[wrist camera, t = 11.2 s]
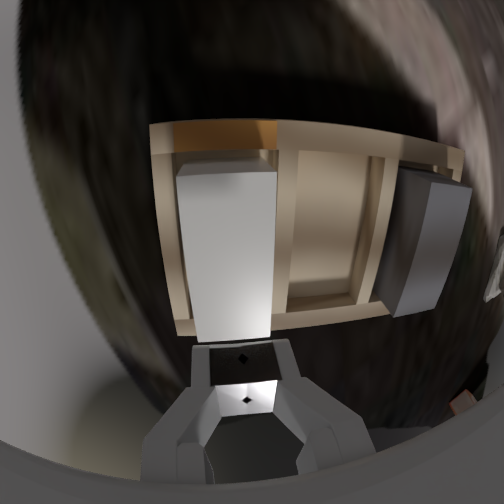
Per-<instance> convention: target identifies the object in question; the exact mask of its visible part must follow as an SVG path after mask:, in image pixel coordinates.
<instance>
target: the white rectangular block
mask: <svg viewBox="0 0 504 504" xmlns="http://www.w3.org/2000/svg"><path fill="white" fill-rule="evenodd" d="M176 183H177V195H178V205H179V215H180V224H181V233H182V241H183V249H184V257H185V264H186V272H187V278H188V285H189V292H190V298H191V304H192V310H193V316H194V322H195V327H196V333H197V338H198V342H210V341H226V340H239V339H251V338H261V337H270V327H271V309H272V290H273V269H274V246H275V220H276V189H277V171H275V170H274V169H273V168H272V167H271V166H270V165H269V164H268V163H267V162H266V161H265V160H264V159H263V158H262V157H231V158H210V159H195V160H186V161H185V162H184V164H183V166H182V167H181V169H180V171H179V172H178V174H177V176H176Z"/></svg>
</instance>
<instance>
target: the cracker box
mask: <svg viewBox="0 0 504 504" xmlns="http://www.w3.org/2000/svg"><path fill="white" fill-rule="evenodd" d="M475 403H477V401H476V400H475V398H474V396H473V395H472V394H471V393H470V392H469V391H468V390H467V389H465V390H464V391H463V392H461V393H460V394H459V395H458V396H457V397H456V398H454V399H453V400H452V401H451V402H450V403H449V405H450V407H451V408H452V410H453V412H454V414H455V416H456V415H458V414H459V413H461V412H463V411H464V410H466V409H468V408H469V407H471V406H472V405H474V404H475Z"/></svg>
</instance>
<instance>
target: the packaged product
mask: <svg viewBox="0 0 504 504" xmlns="http://www.w3.org/2000/svg"><path fill="white" fill-rule="evenodd" d="M500 292H501V293H502V295H503V296H504V234H503V235H502V236H500V237H499V241H498V246H497V250H496V255H495V259H494V263H493V266H492V270H491V274H490V277H489V281H488V285H487V288H486V290H485V294H484V298H483V299H484V301H485V302H486V303H487V302H488V301H489V300H490V299H491V298H494V297H495V296H497V295H498V294H499V293H500Z"/></svg>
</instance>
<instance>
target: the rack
mask: <svg viewBox="0 0 504 504" xmlns="http://www.w3.org/2000/svg"><path fill="white" fill-rule="evenodd" d="M150 145H151V160H152V173H153V184H154V194H155V204H156V212H157V220H158V228H159V235H160V242H161V249H162V256H163V262H164V268H165V274H166V280H167V285H168V291H169V296H170V301H171V306H172V311H173V316H174V321H175V325H176V330H177V334H178V336H194V335H197V333H196V327H195V322H194V316H193V310H192V304H191V298H190V292H189V285H188V278H187V272H186V264H185V257H184V249H183V241H182V233H181V224H180V215H179V205H178V195H177V183H176V176H177V174H178V172H179V171H180V169H181V167H182V166H183V164H184V162H185V161H186V160H195V159H210V158H231V157H262V158H263V159H264V160H265V161H266V162H267V163H268V164H269V165H270V166H271V167H272V168H273V169H274V170H275V171H277V189H276V220H275V246H274V269H273V290H272V309H271V327H270V331H271V330H281V329H291V328H300V327H308V326H316V325H323V324H331V323H338V322H344V321H351V320H357V319H363V318H369V317H375V316H380V315H386V314H391V315H392V316H393V317H398V316H402V315H407V314H412V313H416V312H421V311H425V310H429V309H433V308H434V307H435V305H436V303H437V301H438V298H439V296H440V293H441V291H442V288H443V286H444V283H445V281H446V278H447V276H448V273H449V270H450V267H451V265H452V262H453V259H454V256H455V253H456V250H457V247H458V243H459V240H460V237H461V233H462V230H463V226H464V222H465V219H466V215H467V211H468V207H469V202H470V198H471V193H472V188H470V187H468V186H466V185H464V184H462V183H460V179H461V173H462V167H463V161H464V153H465V151H463V150H460V149H457V148H454V147H451V146H448V145H444V144H441V143H437V142H433V141H429V140H425V139H421V138H417V137H413V136H408V135H403V134H398V133H393V132H388V131H383V130H377V129H371V128H365V127H358V126H351V125H343V124H335V123H325V122H315V121H302V120H286V119H258V118H230V119H201V120H185V121H173V122H162V123H156V124H151V125H150Z"/></svg>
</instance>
